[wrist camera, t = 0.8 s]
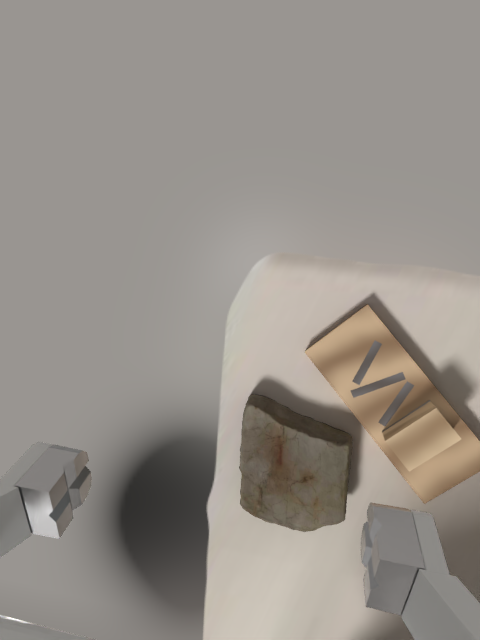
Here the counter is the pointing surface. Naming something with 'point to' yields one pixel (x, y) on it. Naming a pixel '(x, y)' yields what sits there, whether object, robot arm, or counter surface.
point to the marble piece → (292, 467)
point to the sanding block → (420, 435)
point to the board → (392, 397)
